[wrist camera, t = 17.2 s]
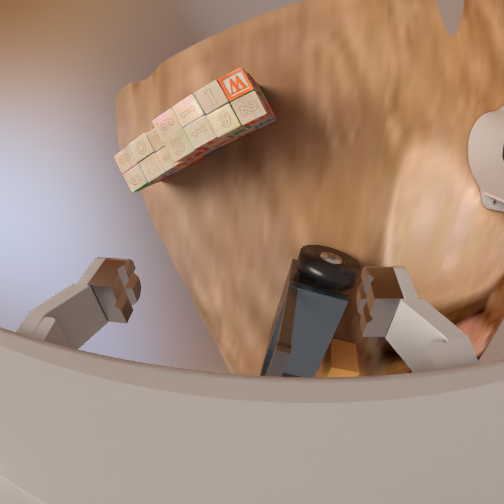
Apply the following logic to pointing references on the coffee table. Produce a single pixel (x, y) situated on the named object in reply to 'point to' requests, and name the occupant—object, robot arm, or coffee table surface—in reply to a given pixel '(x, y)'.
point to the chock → (340, 360)
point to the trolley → (309, 311)
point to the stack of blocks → (196, 129)
